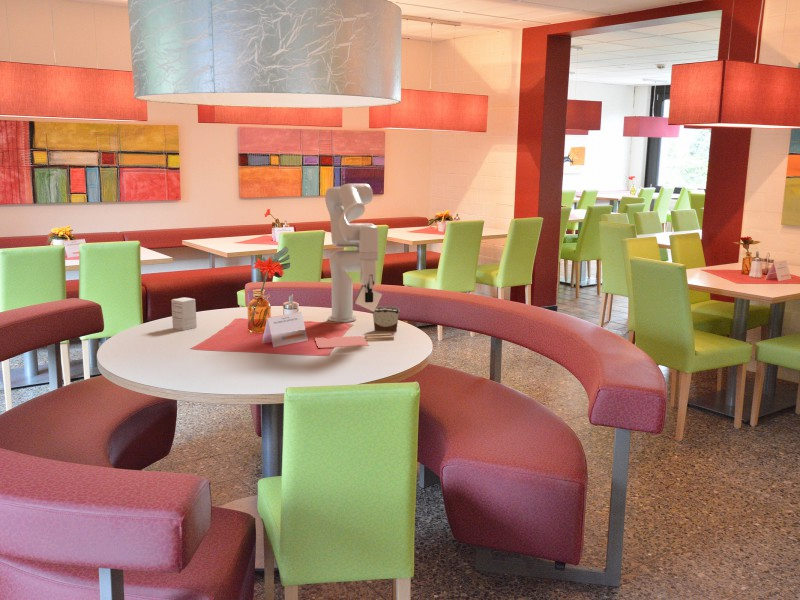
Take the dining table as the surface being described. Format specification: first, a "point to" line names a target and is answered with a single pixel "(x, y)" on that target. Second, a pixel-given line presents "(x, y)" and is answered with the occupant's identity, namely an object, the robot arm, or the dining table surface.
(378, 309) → the half round cake
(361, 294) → the grey square slab
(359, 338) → the mat
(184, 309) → the supplement box
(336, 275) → the robot arm
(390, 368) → the dining table surface
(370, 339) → the stand
